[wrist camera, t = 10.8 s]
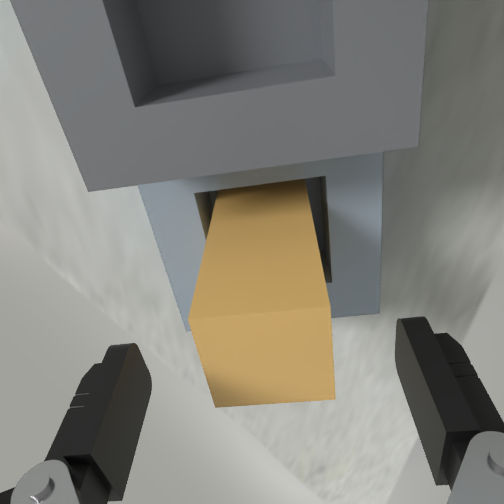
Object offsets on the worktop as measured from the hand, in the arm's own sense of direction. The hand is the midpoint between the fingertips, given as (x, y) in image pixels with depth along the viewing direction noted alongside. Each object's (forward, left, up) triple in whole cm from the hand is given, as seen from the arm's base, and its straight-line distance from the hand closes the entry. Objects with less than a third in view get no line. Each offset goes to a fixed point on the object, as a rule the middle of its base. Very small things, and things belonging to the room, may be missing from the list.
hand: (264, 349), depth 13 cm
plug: (0, 0, -10) cm, 10 cm away
